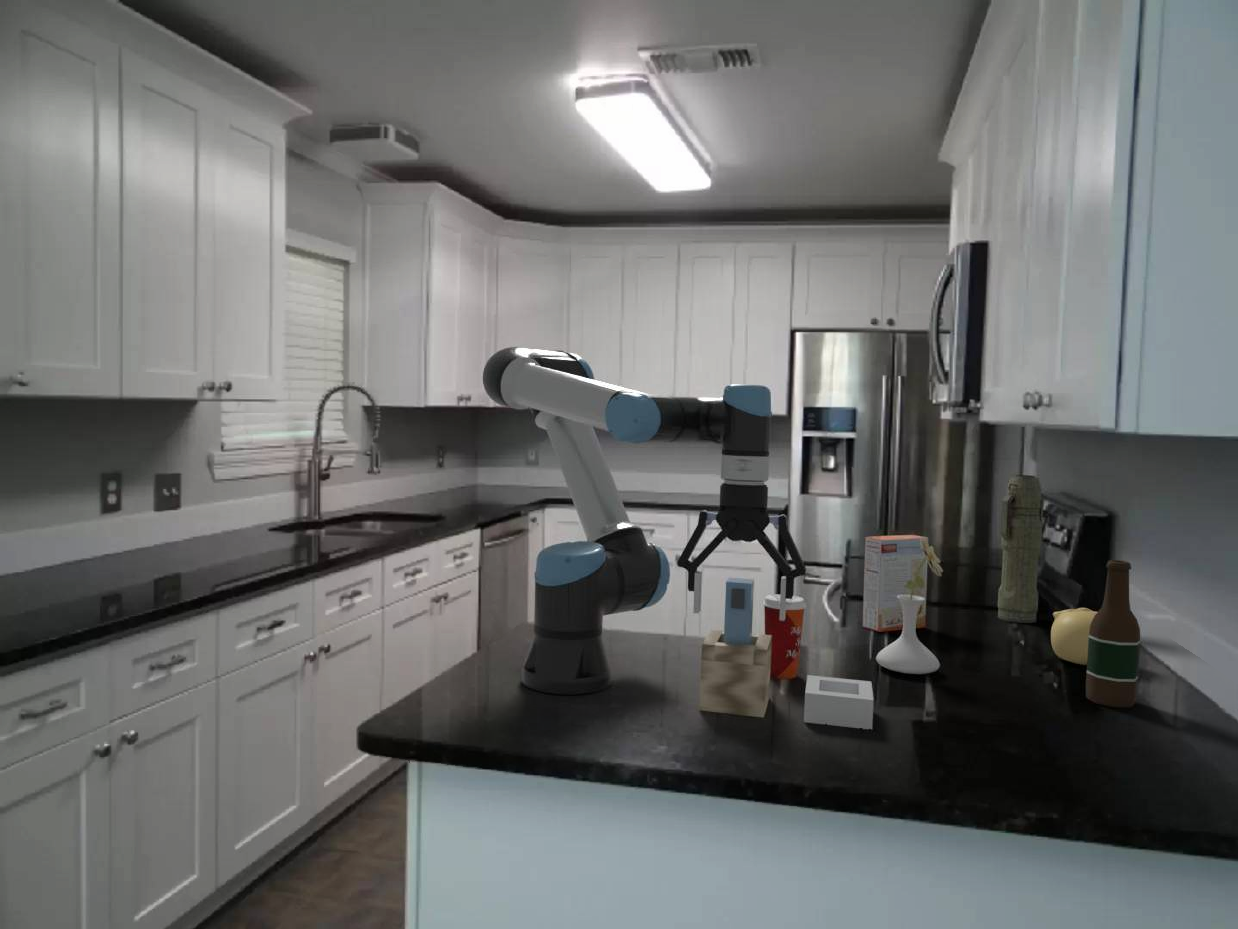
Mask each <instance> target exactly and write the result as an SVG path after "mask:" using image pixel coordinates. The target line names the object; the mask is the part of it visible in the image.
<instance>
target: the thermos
mask: <svg viewBox="0 0 1238 929" xmlns="http://www.w3.org/2000/svg"><path fill="white" fill-rule="evenodd" d="M1040 482H1041V481H1040V479H1039V477H1036V475H1027V474H1014V475H1013V476H1011V477H1010V479H1009V481H1008V483H1007V484H1008V485H1007V488H1006V495H1004V497H1003V499H1002V502H1001V503H1002V504H1001V521H1000V522H1001V523H1000V535H1001V543H1000V544H1001V548H1002V566H1001V583H1000V586H999V588H998V591H997V592H998V593H997V608H998V612H997V618H998V619H1000V620H1002V621H1007V622H1011V623H1012V622H1013V623H1021V624H1032V623H1033V624H1034V623H1036V622H1037V613H1038V611H1039V610H1038V608H1039V590H1038V588H1037V586H1038V585H1037V582H1038V568H1039V567H1038V564H1039V552H1040V551H1041V548H1042V537H1043V536H1042V535H1043V534H1042V533H1043V523H1044V522H1043V521H1044V520H1043V519H1044V506H1045V505H1044V503H1045V501H1044V500H1045V499H1044V498H1043V496H1042V485H1041V483H1040Z"/></svg>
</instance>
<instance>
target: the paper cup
mask: <svg viewBox="0 0 1238 929" xmlns="http://www.w3.org/2000/svg"><path fill="white" fill-rule="evenodd" d="M762 605H763V606H764V609H763V610H764V635H772V643H771V666H770V678H774V679H779V680H780V679H781V680H791V679H795V678H797V677H798V670H799V660H800V653H801V652H800V651H801V641H802V634H803V632H802V631H803V624H804V622H803V621H804V616H805V615H804V613H805V612H804V611H805V609H806V608H807V606H806V603H805V600H804V598H803V597H800V596H797V595H793V597H792V599H786V613H785V620H784V621H782V620H779V618H780V594H779V593H778V594H769V595H768V594H767V595H766V596H765V598H764V601H762Z"/></svg>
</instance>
